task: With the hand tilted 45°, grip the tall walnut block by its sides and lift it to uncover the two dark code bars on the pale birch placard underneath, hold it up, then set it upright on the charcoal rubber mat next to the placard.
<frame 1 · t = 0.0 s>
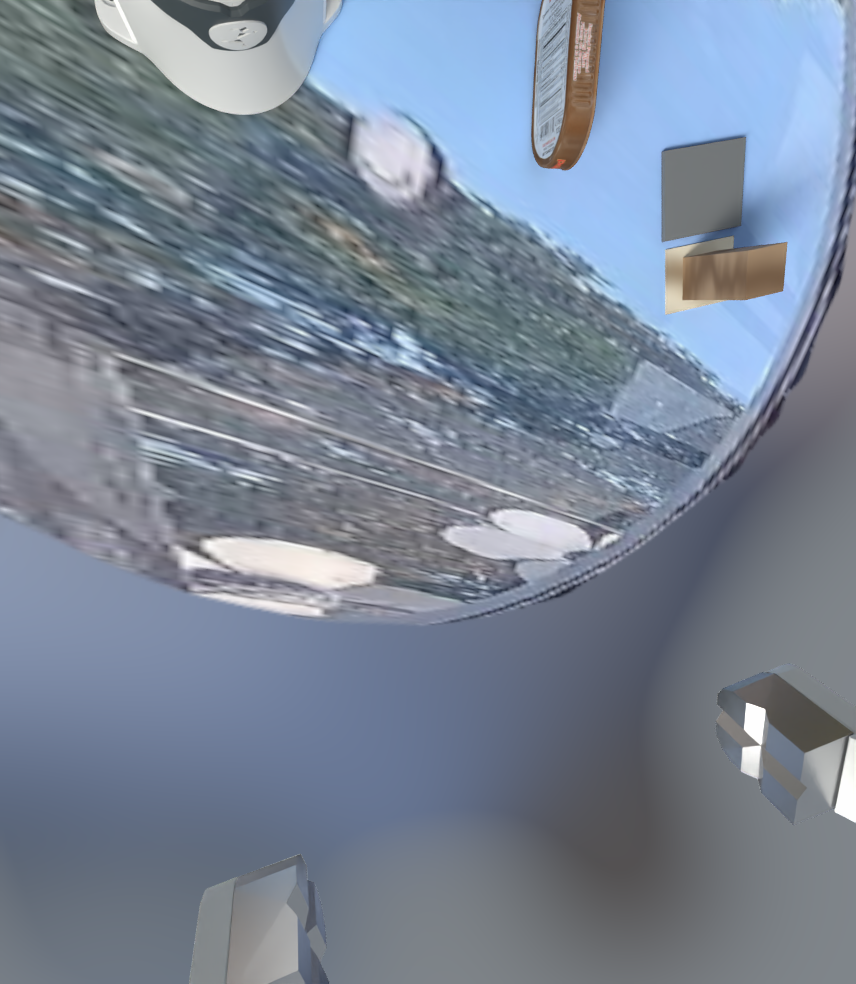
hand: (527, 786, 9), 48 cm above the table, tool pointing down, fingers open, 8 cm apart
tin: (541, 88, 49), on the table
walnut block: (699, 275, 59), resting on code placard
code placard: (699, 275, 59), on the table
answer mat: (701, 190, 56), on the table
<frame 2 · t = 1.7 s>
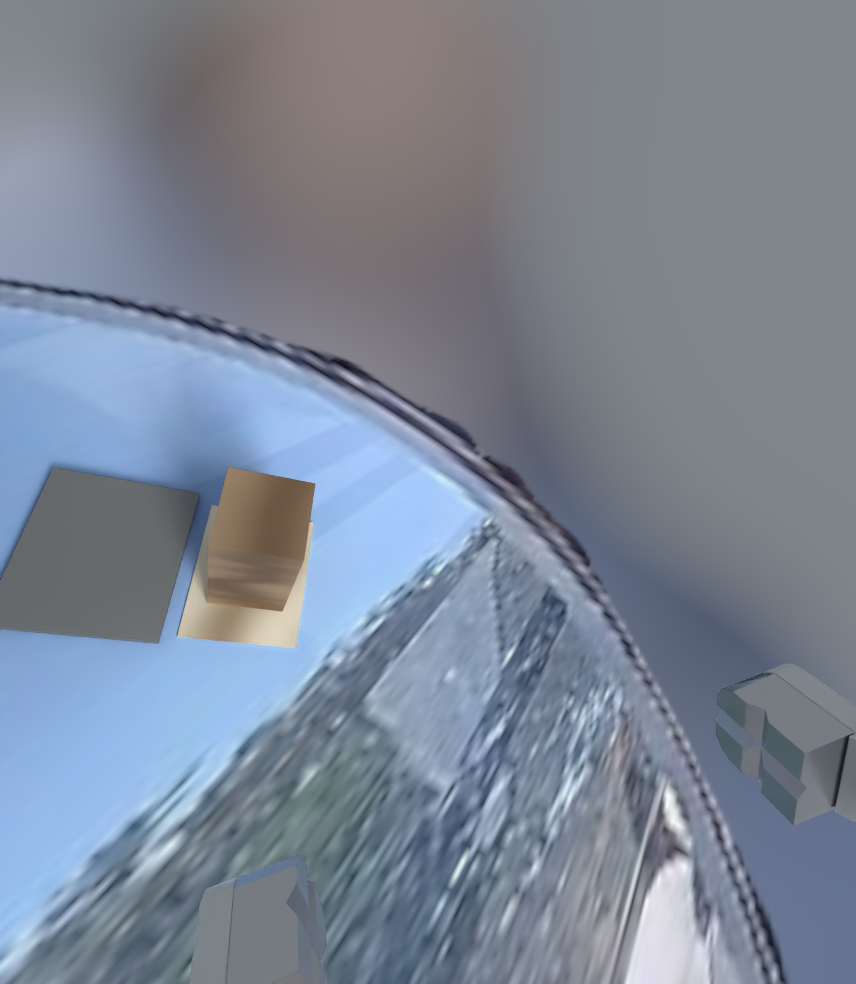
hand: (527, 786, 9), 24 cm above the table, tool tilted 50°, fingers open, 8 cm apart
walnut block: (252, 573, 34), resting on code placard
code placard: (252, 573, 34), on the table
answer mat: (104, 553, 31), on the table
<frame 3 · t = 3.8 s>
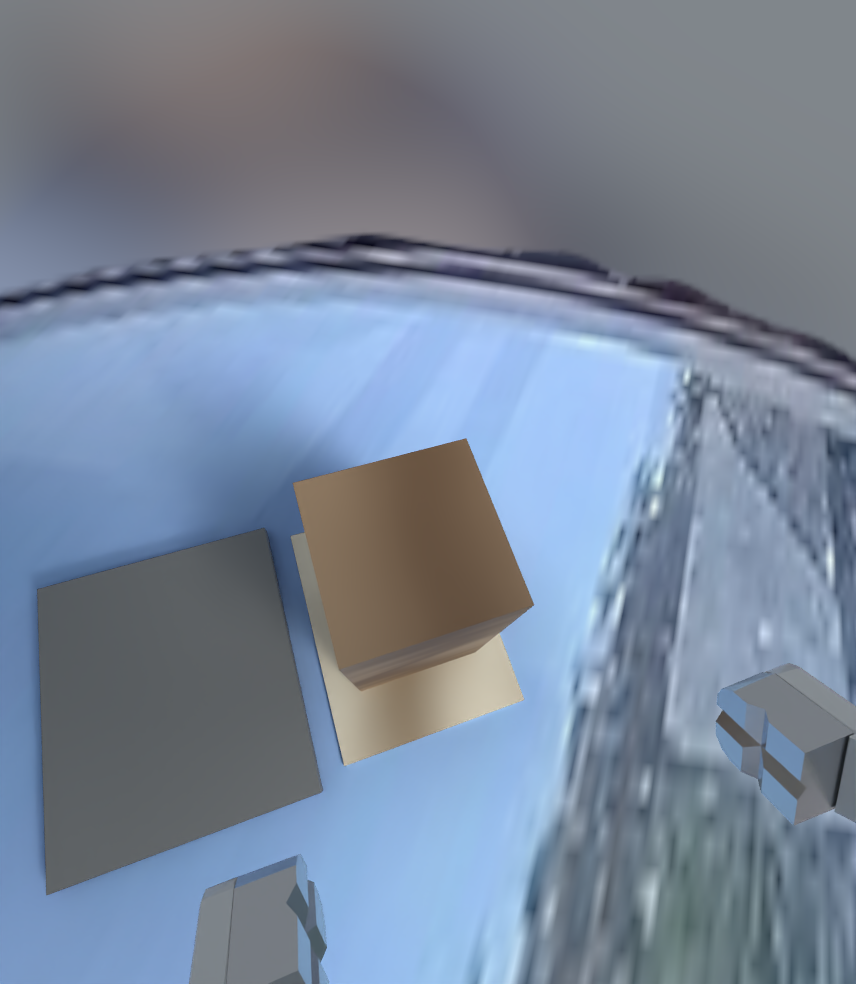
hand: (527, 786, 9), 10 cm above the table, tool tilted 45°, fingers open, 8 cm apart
walnut block: (401, 613, 20), resting on code placard
code placard: (401, 614, 20), on the table
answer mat: (176, 685, 19), on the table
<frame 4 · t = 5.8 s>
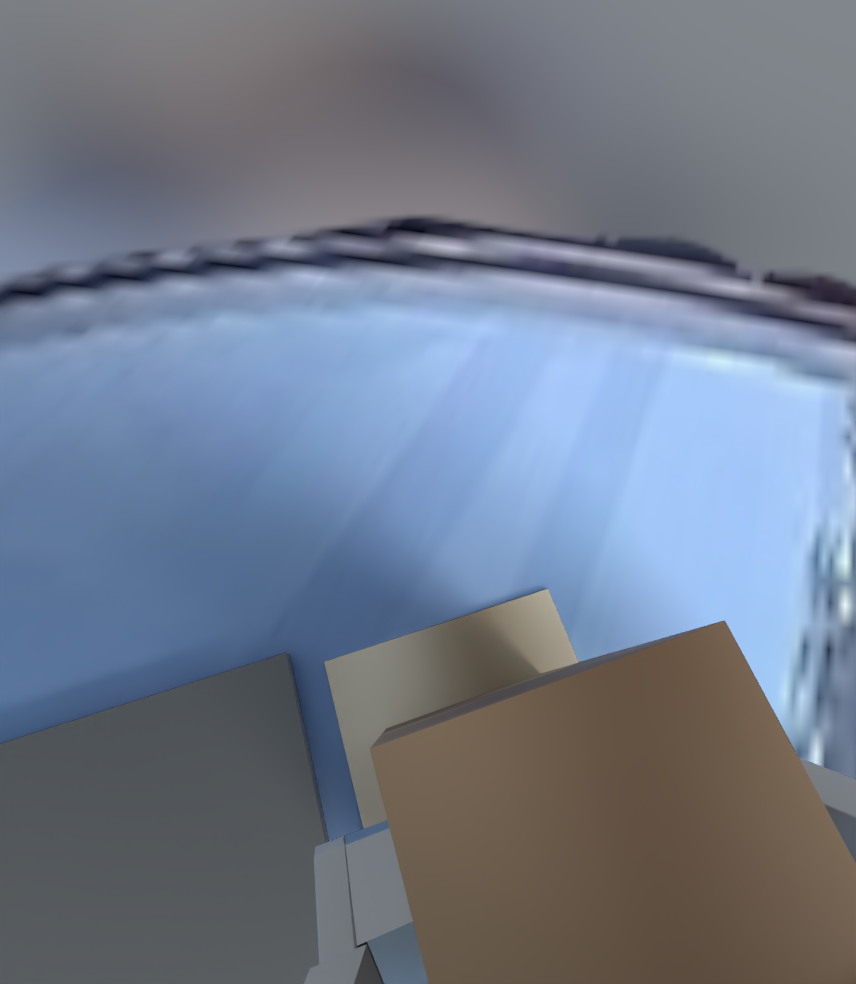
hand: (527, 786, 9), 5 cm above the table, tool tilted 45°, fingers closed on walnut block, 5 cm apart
walnut block: (495, 789, 13), resting on code placard, touching gripper
code placard: (494, 789, 13), on the table
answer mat: (152, 923, 12), on the table
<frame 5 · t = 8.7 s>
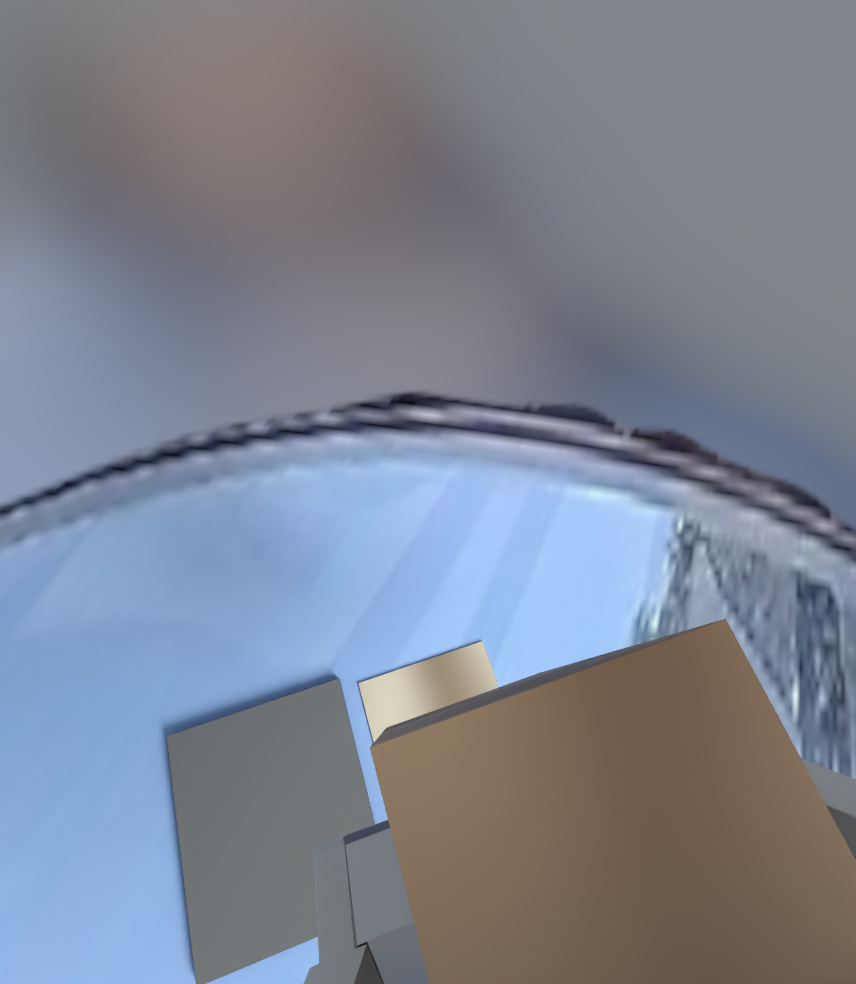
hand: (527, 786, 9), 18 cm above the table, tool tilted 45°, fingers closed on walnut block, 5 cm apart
walnut block: (495, 789, 13), point 14 cm above the table, touching gripper
code placard: (448, 750, 26), on the table
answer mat: (277, 814, 24), on the table
when the fingers open (6 cm above the table, at t = 12.1 s): walnut block stays where it is, resting on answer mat.
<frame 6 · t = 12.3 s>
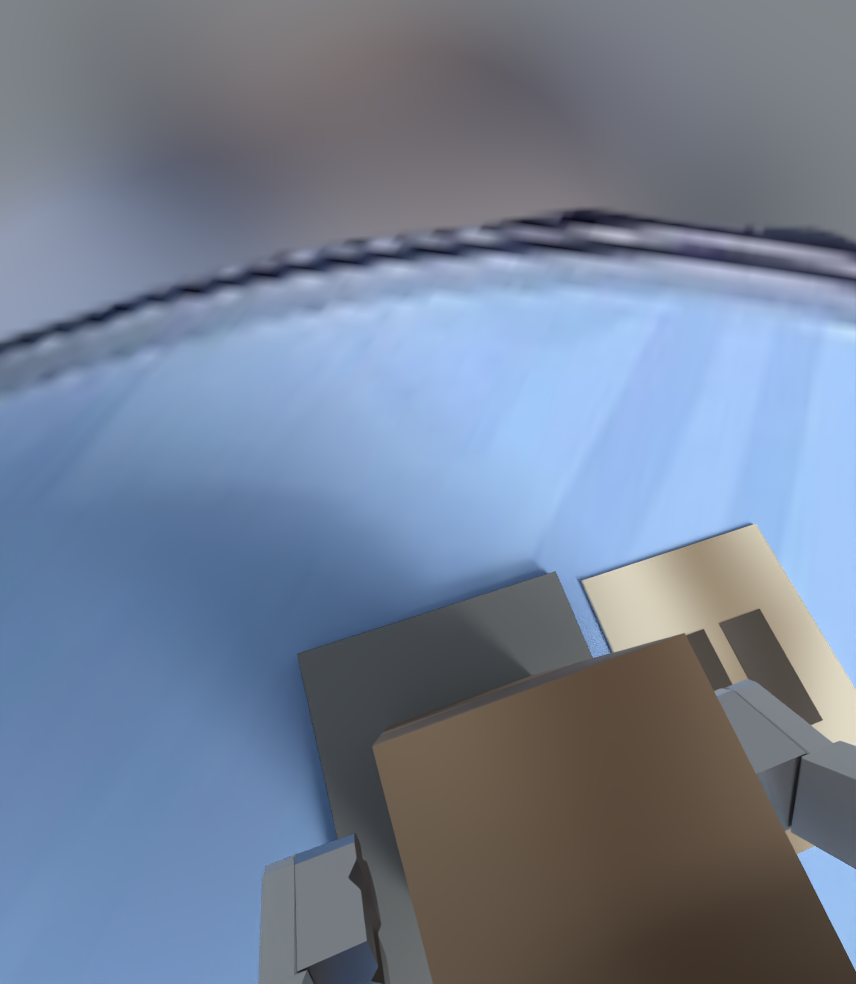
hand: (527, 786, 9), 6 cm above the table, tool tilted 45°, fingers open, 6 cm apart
walnut block: (488, 784, 14), resting on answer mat
code placard: (738, 681, 16), on the table
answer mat: (485, 780, 15), on the table
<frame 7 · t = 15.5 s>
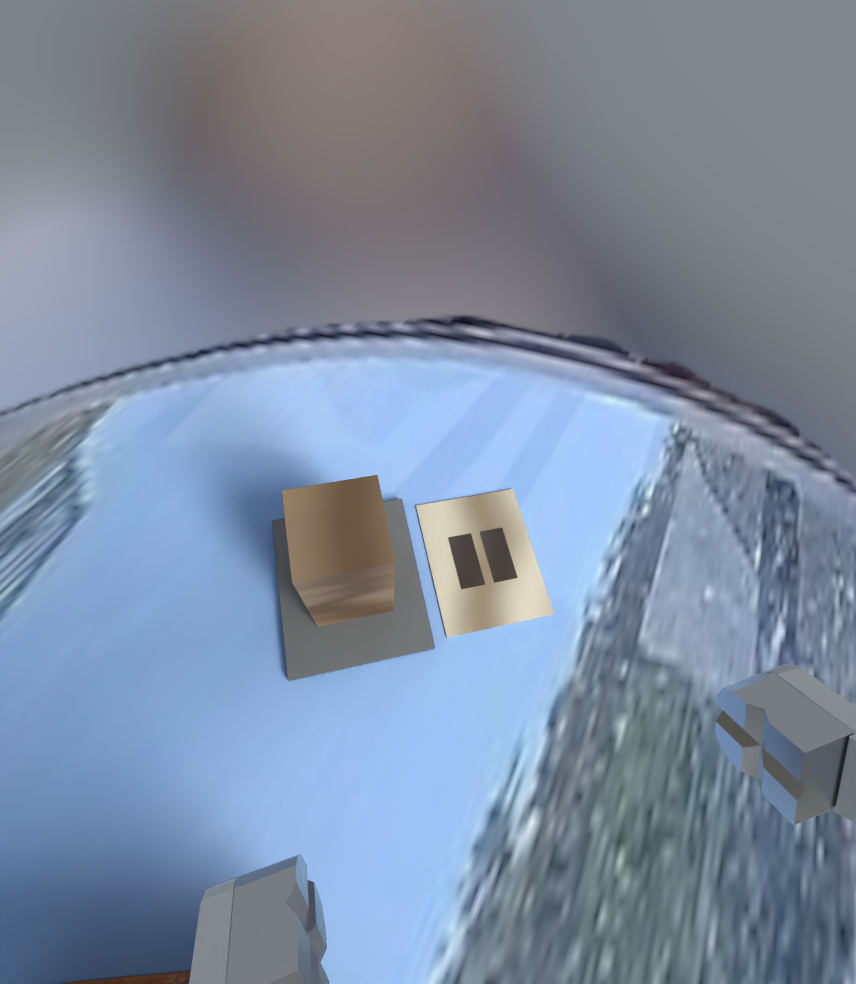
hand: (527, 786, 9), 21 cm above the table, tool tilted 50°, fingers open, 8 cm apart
walnut block: (349, 582, 32), resting on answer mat
code placard: (482, 557, 34), on the table
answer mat: (350, 583, 32), on the table
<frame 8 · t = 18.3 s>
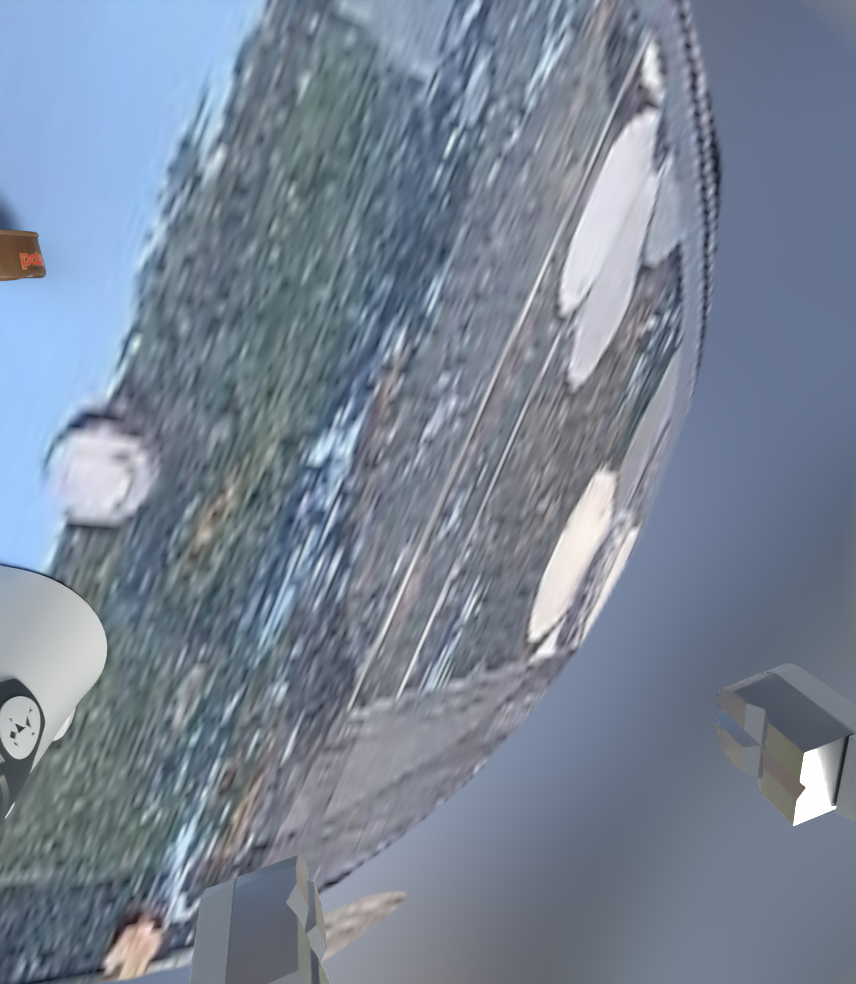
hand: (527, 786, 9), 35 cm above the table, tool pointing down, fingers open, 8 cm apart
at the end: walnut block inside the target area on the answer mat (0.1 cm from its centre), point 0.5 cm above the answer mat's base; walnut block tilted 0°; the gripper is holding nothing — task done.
